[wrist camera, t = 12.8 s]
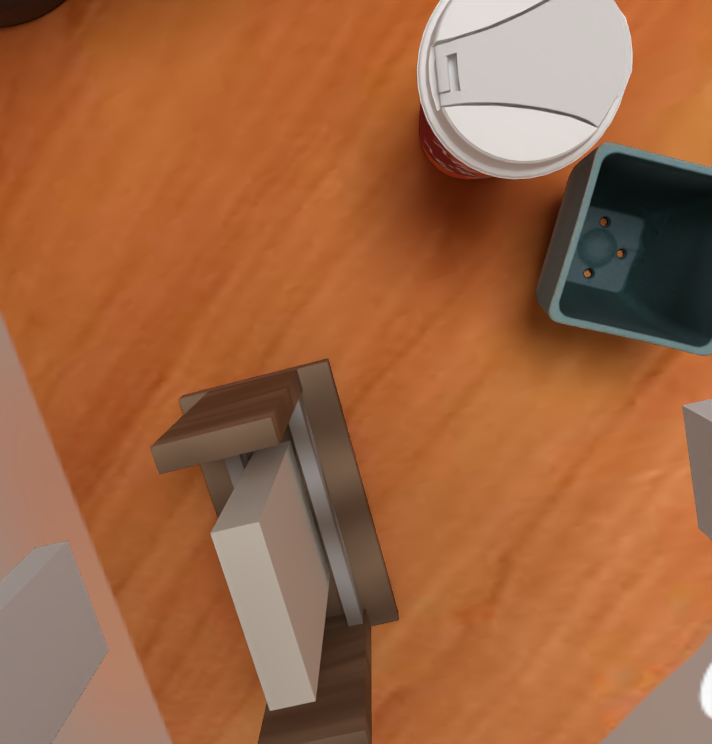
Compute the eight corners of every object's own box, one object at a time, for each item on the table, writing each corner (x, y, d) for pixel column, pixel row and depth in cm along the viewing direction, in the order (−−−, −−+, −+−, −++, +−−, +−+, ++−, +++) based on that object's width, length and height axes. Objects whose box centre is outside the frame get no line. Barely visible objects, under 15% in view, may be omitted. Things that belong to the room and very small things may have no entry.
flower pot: (640, 333, 40) (716, 359, 32) (507, 302, 40) (546, 320, 31) (686, 194, 38) (779, 181, 30) (546, 161, 38) (600, 139, 29)
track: (183, 395, 42) (110, 457, 30) (328, 358, 41) (311, 406, 29) (264, 641, 46) (227, 781, 34) (398, 611, 45) (408, 744, 33)
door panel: (253, 449, 41) (208, 533, 30) (290, 440, 41) (258, 521, 30) (295, 583, 43) (267, 711, 32) (330, 575, 43) (315, 701, 31)
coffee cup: (409, 208, 39) (433, 190, 24) (391, 66, 37) (406, -45, 23) (544, 188, 39) (652, 158, 24) (533, 43, 37) (642, -84, 22)
